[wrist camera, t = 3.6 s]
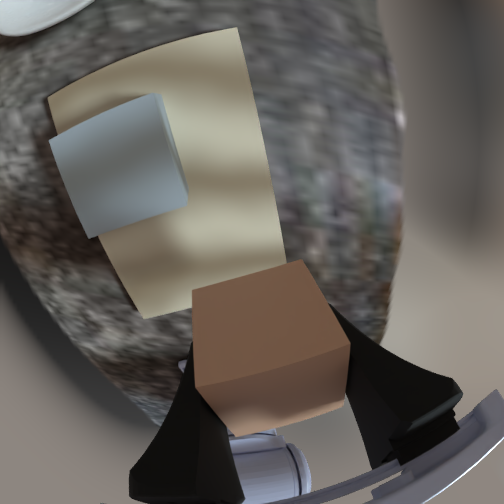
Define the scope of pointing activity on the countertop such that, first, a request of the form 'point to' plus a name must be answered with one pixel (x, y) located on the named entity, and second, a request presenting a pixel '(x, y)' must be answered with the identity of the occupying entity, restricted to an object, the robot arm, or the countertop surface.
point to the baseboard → (210, 164)
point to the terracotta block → (268, 349)
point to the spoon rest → (35, 14)
